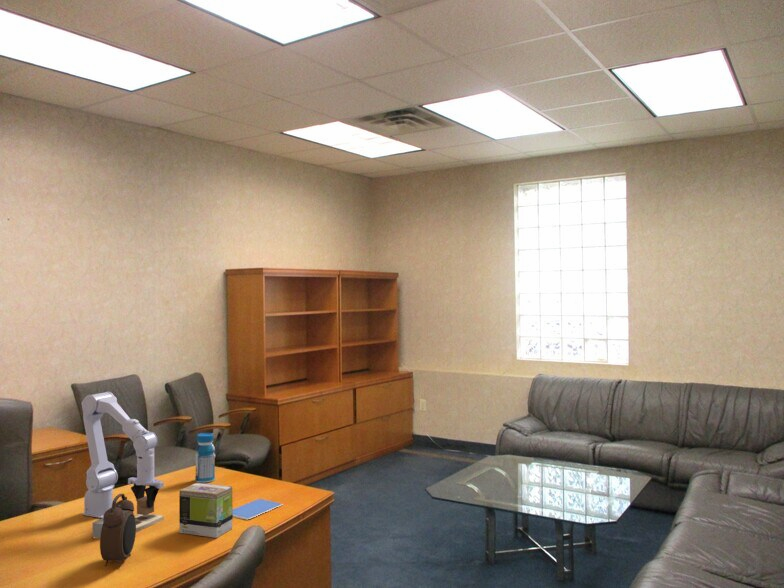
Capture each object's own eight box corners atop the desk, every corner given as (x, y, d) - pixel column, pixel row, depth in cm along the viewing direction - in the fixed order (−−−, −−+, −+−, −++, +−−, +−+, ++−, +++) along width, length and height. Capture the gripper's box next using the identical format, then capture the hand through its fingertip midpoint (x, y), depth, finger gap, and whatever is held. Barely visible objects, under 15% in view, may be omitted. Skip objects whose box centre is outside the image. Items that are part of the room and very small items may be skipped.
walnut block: (145, 510, 224) (145, 496, 224) (154, 511, 223) (154, 497, 223) (136, 513, 221) (136, 499, 221) (145, 515, 219) (145, 501, 219)
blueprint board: (111, 528, 214) (111, 525, 214) (141, 515, 227) (141, 512, 227) (134, 533, 210) (134, 529, 210) (163, 519, 223) (163, 515, 223)
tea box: (233, 528, 215) (233, 485, 215) (216, 539, 205) (216, 494, 205) (196, 523, 220) (196, 481, 220) (178, 533, 210) (178, 489, 210)
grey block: (92, 537, 206) (92, 522, 206) (102, 533, 210) (102, 518, 210) (101, 539, 205) (101, 524, 205) (111, 535, 209) (111, 520, 209)
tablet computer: (259, 501, 245) (259, 497, 245) (284, 506, 239) (284, 503, 239) (223, 516, 228) (223, 512, 228) (248, 522, 222) (248, 518, 222)
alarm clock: (123, 572, 181) (123, 502, 181) (97, 572, 180) (97, 503, 180) (139, 551, 195) (140, 487, 195) (115, 552, 195) (116, 488, 195)
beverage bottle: (204, 484, 264) (204, 437, 265) (190, 481, 269) (190, 435, 269) (219, 479, 272) (219, 433, 272) (205, 476, 276) (205, 431, 276)
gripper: (121, 468, 221) (121, 507, 221) (153, 472, 215) (153, 512, 215) (136, 463, 227) (136, 500, 227) (168, 467, 222) (167, 505, 222)
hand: (145, 506), depth 222 cm, fingers closed on walnut block, 4 cm apart
